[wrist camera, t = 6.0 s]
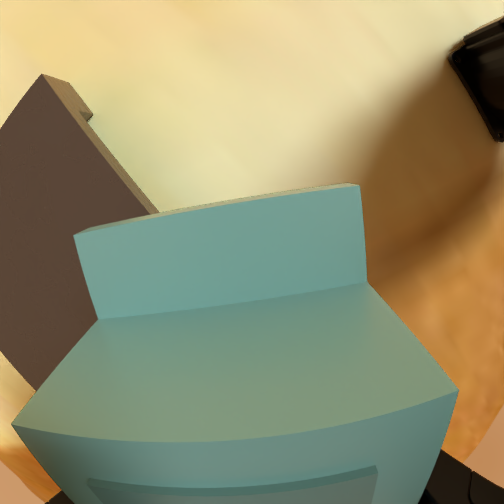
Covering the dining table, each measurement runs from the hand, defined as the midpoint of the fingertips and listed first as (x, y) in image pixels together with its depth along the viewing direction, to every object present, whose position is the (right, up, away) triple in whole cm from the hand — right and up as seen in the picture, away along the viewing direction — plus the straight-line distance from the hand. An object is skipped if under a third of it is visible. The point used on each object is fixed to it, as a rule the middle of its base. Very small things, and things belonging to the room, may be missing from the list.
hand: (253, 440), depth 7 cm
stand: (-12, +4, +11) cm, 17 cm away
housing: (0, 0, +1) cm, 1 cm away
